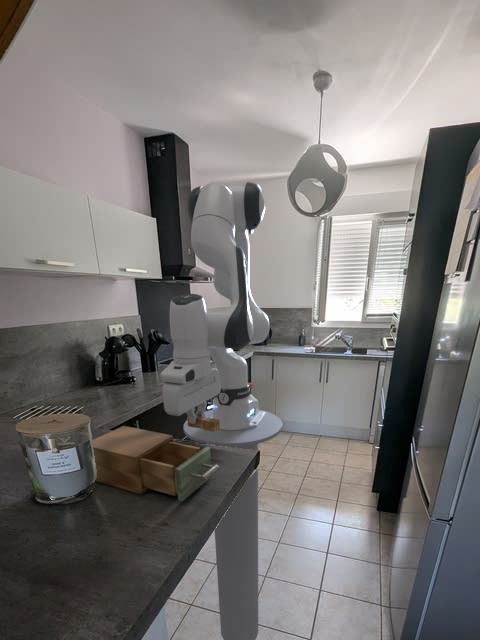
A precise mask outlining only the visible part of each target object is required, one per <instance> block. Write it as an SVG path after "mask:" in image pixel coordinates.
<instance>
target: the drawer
mask: <svg viewBox="0 0 480 640" xmlns="http://www.w3.org/2000/svg"><path fill="white" fill-rule="evenodd" d="M138 460H139V467H140V473H141V480H142V487H145V488H149V489H148V490H153V491H156V492H160V493H164V494H165V495H166V494H167V495H170V496H174V497H176V496H177V500H178V501H180V502H184V501H185V500H186V499H187V498H188V497H190V496H191V495H192V494H193V493H194V492H195V491H197V490H198V489H199V488H200V487H201V486H202V485H204V483H206V482H207V481H208V480H209V479H211V477H213V475H214V474H215V473H216V472H217V471H219V470H220V466H219V465H218V464H217V463H215V464H214V465H213V464H212V453H211V447H209V446H205V447H204V448H202V449H201V447H199V446H193V445H189V444H185V443H180V442H179V443H178V442H175V441H174V442H170V441H168V442H166V443H165V444H163V445H161V446H160V447H158V448H156V449H155V450H153V451H151V452H150V453H148V454H146V455H144V456H143V457H141V458H139V459H138Z"/></svg>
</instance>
